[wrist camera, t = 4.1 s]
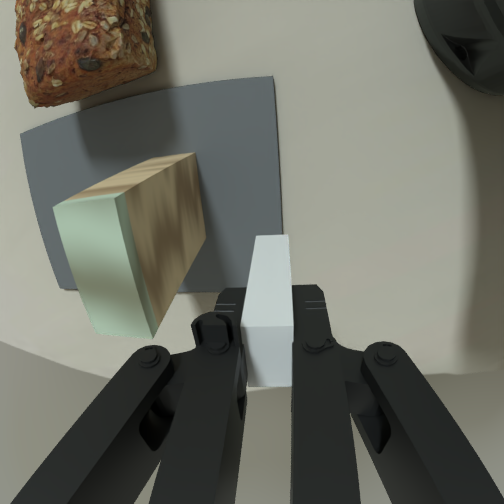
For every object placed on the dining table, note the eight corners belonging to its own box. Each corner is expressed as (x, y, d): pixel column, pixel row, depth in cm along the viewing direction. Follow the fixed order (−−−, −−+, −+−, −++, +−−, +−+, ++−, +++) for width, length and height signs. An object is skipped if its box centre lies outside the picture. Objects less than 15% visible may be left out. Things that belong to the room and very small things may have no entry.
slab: (153, 157, 25) (52, 207, 13) (195, 152, 25) (114, 198, 12) (166, 239, 29) (95, 333, 16) (206, 237, 28) (152, 339, 16)
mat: (23, 133, 25) (20, 134, 25) (272, 76, 22) (272, 76, 22) (62, 285, 34) (59, 288, 33) (283, 287, 31) (283, 291, 30)
